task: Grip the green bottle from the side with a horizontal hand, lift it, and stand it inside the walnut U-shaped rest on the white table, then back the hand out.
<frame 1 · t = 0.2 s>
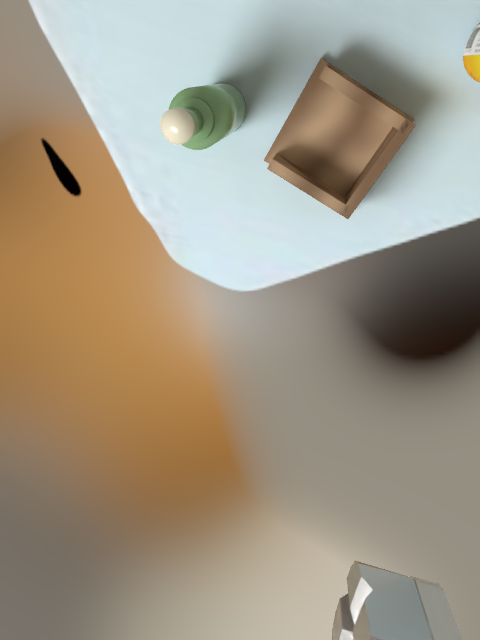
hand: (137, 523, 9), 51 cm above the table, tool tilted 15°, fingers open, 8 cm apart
rest: (335, 139, 52), on the table
bottle: (223, 109, 53), on the table
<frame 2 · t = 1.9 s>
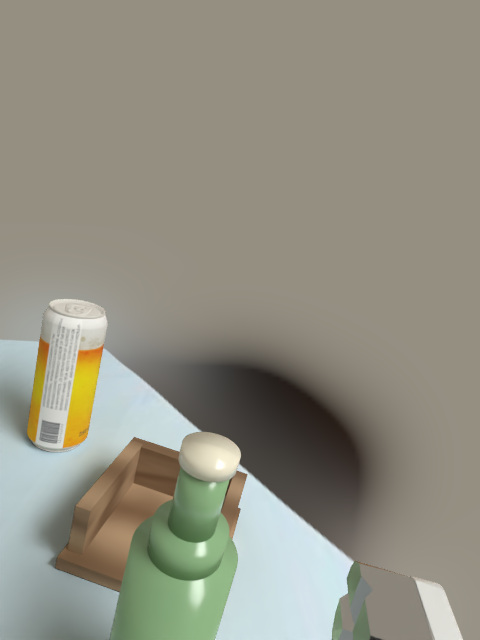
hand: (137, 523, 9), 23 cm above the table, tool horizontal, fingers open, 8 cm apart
rest: (158, 539, 38), on the table
beer can: (56, 440, 48), on the table
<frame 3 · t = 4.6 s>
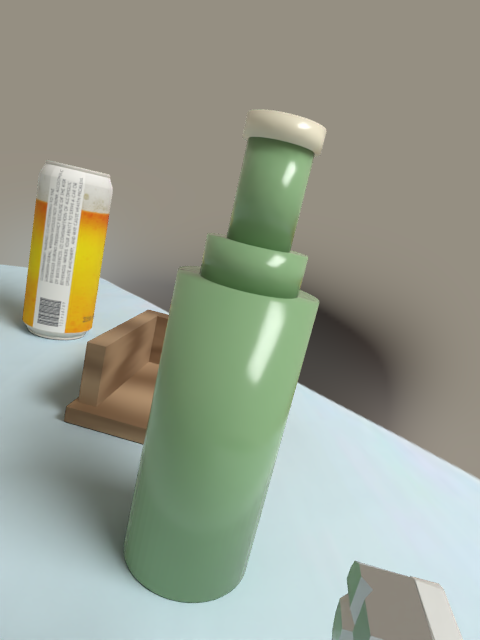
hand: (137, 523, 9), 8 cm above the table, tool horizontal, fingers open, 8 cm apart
rest: (183, 408, 33), on the table
bottle: (186, 549, 20), on the table
beer can: (56, 332, 42), on the table
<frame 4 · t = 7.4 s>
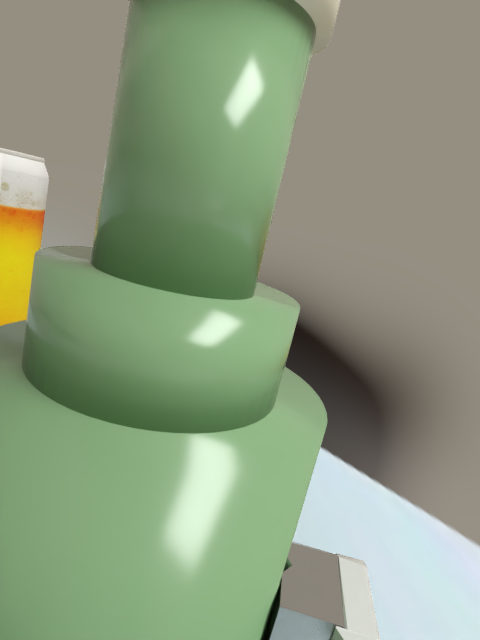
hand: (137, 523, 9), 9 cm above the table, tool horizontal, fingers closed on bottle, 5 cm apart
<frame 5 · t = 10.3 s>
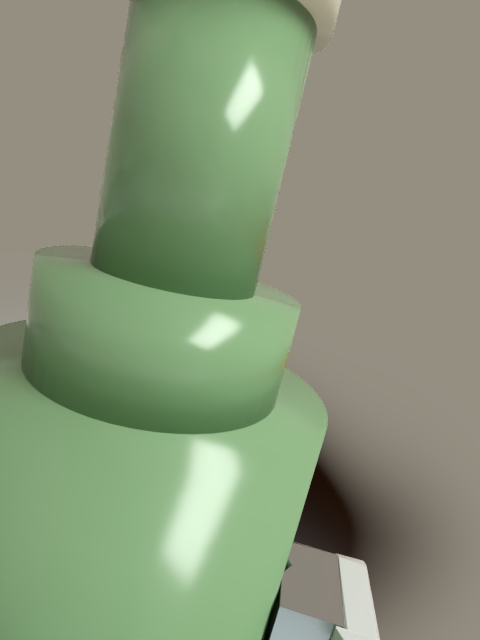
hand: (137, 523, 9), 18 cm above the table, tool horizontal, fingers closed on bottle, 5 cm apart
when the fingers open (10 cm above the table, at t = 13.2 s): bottle stays where it is, resting on rest.
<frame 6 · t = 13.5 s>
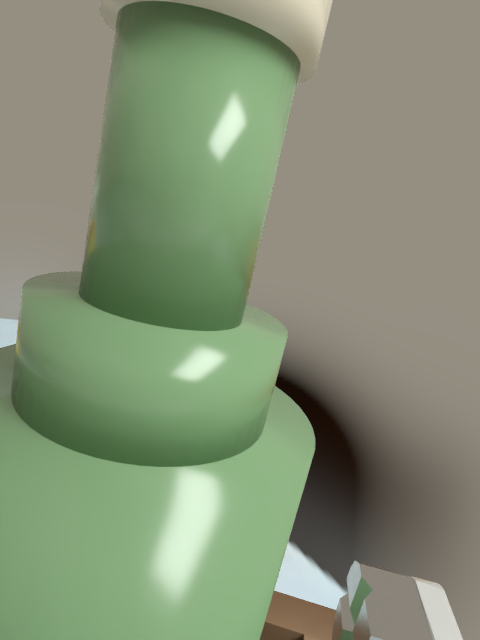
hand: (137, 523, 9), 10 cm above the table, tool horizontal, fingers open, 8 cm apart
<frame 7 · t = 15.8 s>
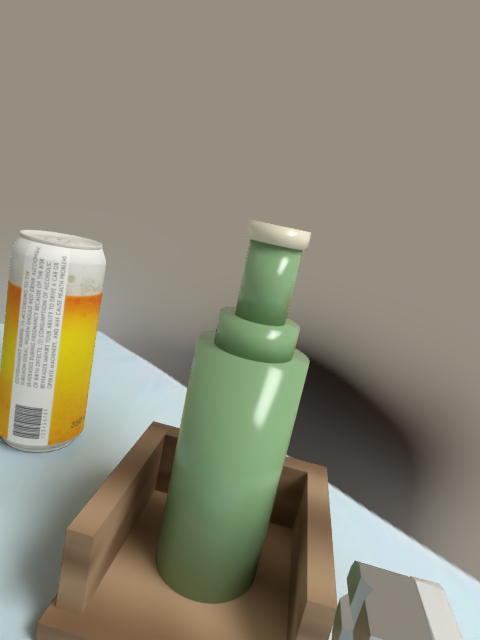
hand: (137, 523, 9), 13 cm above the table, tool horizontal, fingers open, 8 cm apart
rest: (203, 575, 24), on the table
bottle: (206, 560, 24), point 1 cm above the table, touching rest
beer can: (39, 436, 34), on the table
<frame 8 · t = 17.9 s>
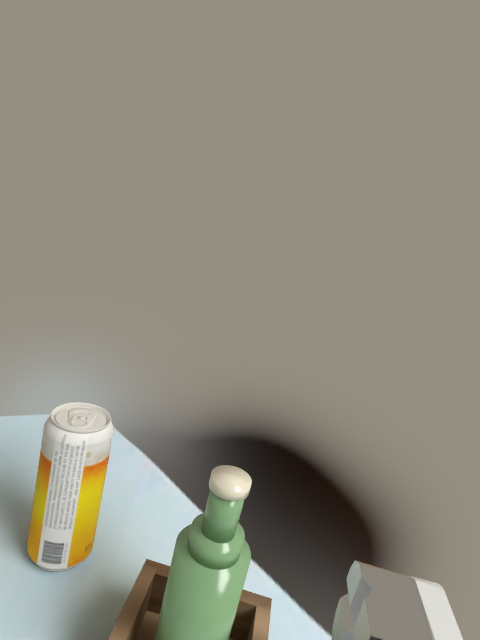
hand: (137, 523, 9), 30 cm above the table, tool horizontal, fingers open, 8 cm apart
beer can: (59, 552, 45), on the table
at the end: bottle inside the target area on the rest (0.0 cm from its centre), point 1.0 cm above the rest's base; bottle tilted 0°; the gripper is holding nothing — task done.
